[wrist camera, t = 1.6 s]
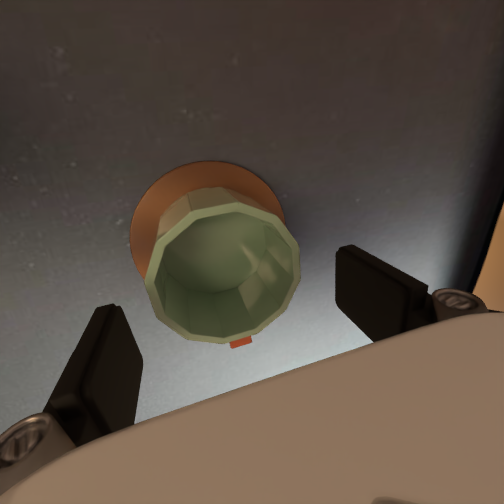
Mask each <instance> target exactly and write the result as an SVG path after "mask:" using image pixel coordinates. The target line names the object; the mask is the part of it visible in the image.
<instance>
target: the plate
mask: <svg viewBox="0 0 504 504" xmlns="http://www.w3.org/2000/svg"><path fill="white" fill-rule="evenodd" d="M206 187H224V188H227V189H231V190H234V191H236V192H239V193H241V194H243V195H245V196H248V197H250V198H252V199H253V200H255V201H256V202H258V203H259V204H261V205H262V206H263V207H265V208H266V209H268V210H269V211H271V212H272V213H273V214H275V215H276V216H278V217H279V219H280V220H281V221H282V223H283V224H284V226H285V219H284V215H283V211H282V208H281V206H280V204H279V201H278V200H277V198H276V196H275V195H274V193H273V192H272V190H271V189H270V188H269V187H268V186H267V184H265V183H264V182H263V181H262V180H261V179H260V178H259V177H257V176H256V175H254V174H253V173H252V172H250V171H248V170H246V169H244V168H242V167H239V166H236V165H233V164H230V163H225V162H220V161H199V162H193V163H189V164H185V165H182V166H180V167H177V168H175V169H173V170H171V171H169V172H168V173H166V174H164V175H163V176H162V177H160V178H159V179H158V180H156V181H155V182H154V183H153V184H152V185H151V186H150V187H149V188H148V190H147V191H146V192H145V194H144V195H143V196H142V198H141V200H140V202H139V203H138V205H137V207H136V209H135V212H134V215H133V218H132V222H131V227H130V248H131V253H132V257H133V260H134V263H135V265H136V267H137V269H138V271H139V273H140V274H141V276H142V277H143V279H144V280H145V275H146V271H147V266H148V261H149V257H150V252H151V248H152V244H153V240H154V237H155V233H156V229H157V226H158V223H159V220H160V216H161V215H162V214H163V213H164V212H165V211H166V210H167V208H168V207H169V206H170V205H171V204H172V203H173V202H174V201H176V200H177V199H178V198H180V197H181V196H183V195H185V194H186V193H188V192H191V191H193V190H196V189H200V188H206ZM285 227H286V226H285Z"/></svg>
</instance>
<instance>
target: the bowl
mask: <svg viewBox="0 0 504 504" xmlns="http://www.w3.org/2000/svg"><path fill="white" fill-rule="evenodd" d="M300 279H301V275H300V255H299V246H298V243H297V242H296V240H295V239H294V238H293V236H292V235H291V234H290V232H289V231H288V230H287V228H286V227H285V226H284V224H283V223H282V221H281V220H280V219H279V217H278V216H276V215H275V214H273V213H272V212H271V211H269V210H268V209H266V208H265V207H263V206H262V205H261V204H259V203H258V202H256V201H255V200H253V199H252V198H250V197H248V196H245V195H243V194H241V193H239V192H236V191H234V190H231V189H227V188H224V187H206V188H200V189H196V190H193V191H191V192H188V193H186V194H185V195H183V196H181V197H180V198H178V199H177V200H176V201H174V202H173V203H172V204H171V205H170V206H169V207H168V208H167V210H166V211H165V212H164V213H163V214H162V215H161V216H160V220H159V223H158V226H157V229H156V233H155V237H154V240H153V244H152V248H151V252H150V257H149V261H148V266H147V271H146V275H145V280H144V284H145V287H146V290H147V293H148V295H149V298H150V301H151V304H152V307H153V309H154V312H155V315H156V317H157V318H158V320H160V321H161V322H163V323H164V324H165V325H167V326H168V327H170V328H171V329H172V330H174V331H175V332H177V333H178V334H179V335H181V336H182V337H184V338H185V339H187V340H193V341H202V342H210V343H218V344H225V343H228V342H229V343H230V347H231V348H232V349H233V348H236V347H239V346H242V345H246V344H249V343H251V342H252V339H251V335H255V334H257V333H259V332H260V331H262V330H263V329H264V328H265V327H266V326H268V325H269V324H270V323H271V322H272V321H274V320H275V319H276V318H277V317H279V316H280V315H281V314H282V313H283V312H285V310H286V309H287V307H288V305H289V303H290V301H291V299H292V297H293V294H294V292H295V290H296V288H297V286H298V284H299V282H300Z"/></svg>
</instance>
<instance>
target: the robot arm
mask: <svg viewBox="0 0 504 504" xmlns="http://www.w3.org/2000/svg"><path fill="white" fill-rule="evenodd" d="M427 291H428V285H426V284H424V283H423V282H421V281H419V280H417V279H415V278H413V277H412V276H410V275H408V274H406V273H404V272H402V271H401V270H399V269H397V268H395V267H393V266H391V265H390V264H388V263H386V262H384V261H382V260H380V259H379V258H377V257H375V256H373V255H371V254H369V253H368V252H366V251H364V250H362V249H360V248H358V247H357V246H355V245H347V246H343V247H340V248H339V250H338V251H337V252H336V270H335V301H336V304H337V306H338V308H339V309H340V310H341V311H342V312H343V313H344V314H345V315H346V316H347V317H348V318H349V319H350V320H351V321H352V322H353V323H355V324H356V325H357V326H358V327H359V328H360V329H361V330H362V331H363V332H364V333H365V334H366V335H367V336H368V337H369V338H370V339H371V340H372V341H373V342H374V343H371V344H368V345H365V346H362V347H359V348H356V349H353V350H350V351H347V352H344V353H341V354H338V355H335V356H332V357H329V358H326V359H323V360H320V361H317V362H314V363H311V364H308V365H305V366H302V367H299V368H296V369H293V370H290V371H287V372H284V373H281V374H278V375H275V376H273V377H270V378H267V379H264V380H261V381H258V382H255V383H252V384H249V385H246V386H243V387H240V388H237V389H234V390H232V391H229V392H226V393H223V394H220V395H217V396H214V397H211V398H208V399H205V400H203V401H200V402H197V403H194V404H191V405H188V406H185V407H182V408H179V409H176V410H174V411H171V412H168V413H165V414H162V415H159V416H156V417H153V418H151V419H148V420H145V421H142V422H139V423H137V424H134V421H135V415H136V408H137V402H138V396H139V389H140V383H141V376H142V370H143V358H142V355H141V353H140V350H139V348H138V346H137V343H136V341H135V338H134V336H133V334H132V331H131V329H130V326H129V324H128V322H127V319H126V317H125V315H124V312H123V310H122V308H121V306H116V305H115V304H109V305H105V306H101V307H97V308H96V309H95V311H94V313H93V315H92V317H91V319H90V321H89V323H88V325H87V327H86V329H85V331H84V333H83V335H82V337H81V339H80V341H79V343H78V345H77V347H76V349H75V350H74V352H73V353H72V355H71V357H70V359H69V361H68V363H67V365H66V367H65V369H64V371H63V373H62V375H61V377H60V379H59V380H58V382H57V384H56V386H55V388H54V390H53V392H52V394H51V396H50V398H49V400H48V402H47V404H46V406H45V408H44V410H43V412H42V413H37V414H33V415H31V416H28V417H26V418H24V419H22V420H20V421H19V422H17V423H15V424H14V425H12V426H11V427H10V428H8V429H7V430H6V431H5V432H3V433H2V434H1V435H0V504H504V312H500V311H494V310H488V309H487V307H486V305H485V303H484V302H483V301H482V300H481V299H480V298H479V297H477V296H476V295H474V294H471V293H469V292H466V291H463V290H459V289H453V288H443V289H438V290H435V291H434V292H433V293H432V295H430V294H429V293H427Z"/></svg>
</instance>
